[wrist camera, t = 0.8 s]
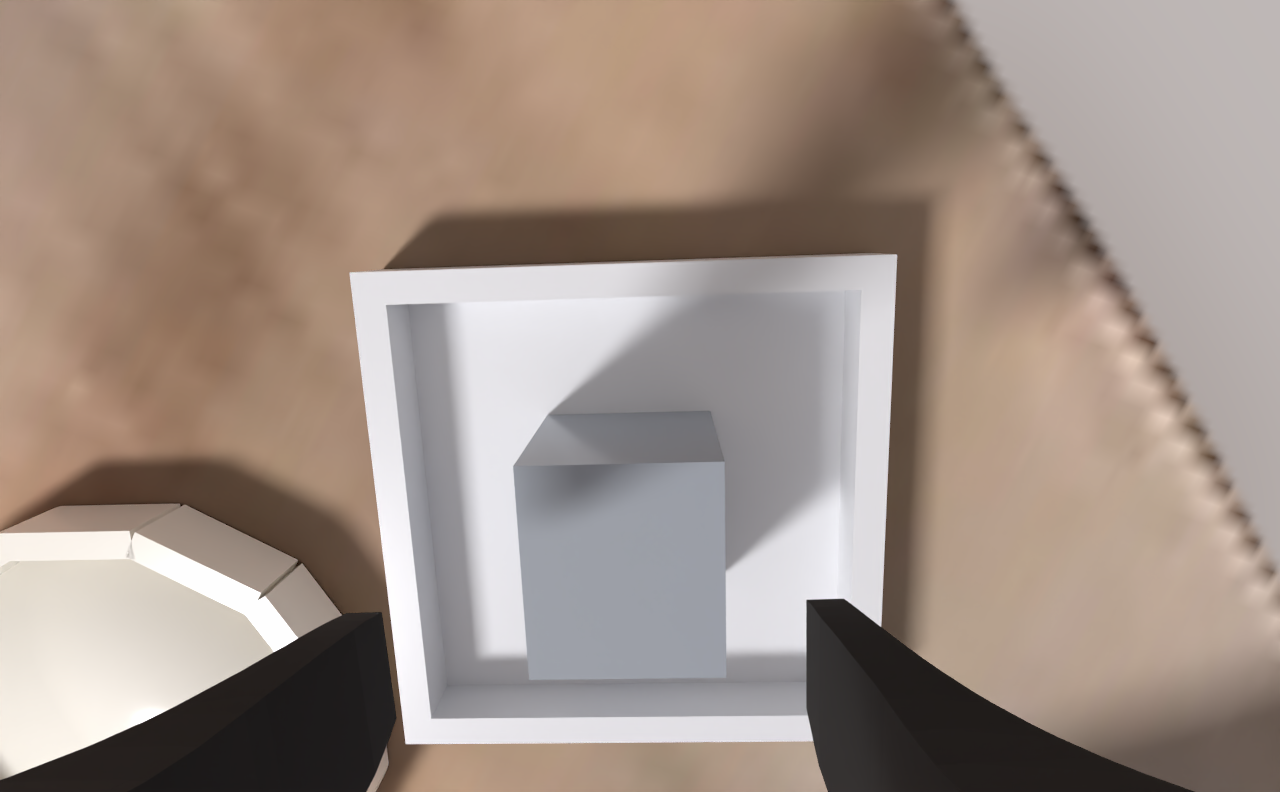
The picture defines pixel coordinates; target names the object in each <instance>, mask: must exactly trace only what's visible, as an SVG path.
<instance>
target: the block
mask: <svg viewBox="0 0 1280 792" xmlns="http://www.w3.org/2000/svg"><path fill="white" fill-rule="evenodd" d="M513 473H514V486H515V499H516V513H517V526H518V539H519V553H520V566H521V579H522V593H523V606H524V619H525V633H526V646H527V659H528V673H529V680H570V679H663V678H726V562H725V461H724V458H723V454H722V450H721V447H720V443H719V440H718V436H717V432H716V429H715V425H714V422H713V418H712V415H711V411H676V412H637V413H597V414H557V415H547V416H546V418H545V419H544V421H543V422H542V424H541V425H540V427H539V428H538V430H537V431H536V433H535V434H534V436H533V437H532V439H531V440H530V442H529V443H528V445H527V446H526V448H525V449H524V451H523V452H522V454H521V455H520V457H519V458H518V460H517V461H516V463H515V464H514V466H513Z"/></svg>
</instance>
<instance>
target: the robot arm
mask: <svg viewBox="0 0 1280 792" xmlns="http://www.w3.org/2000/svg"><path fill="white" fill-rule="evenodd" d="M806 709H807V714H808V718H809V723H810V728H811V732H812V737H813V741H814V746H815V750H816V754H817V759H818V763H819V767H820V770H821V773H822V775H823V778H824V781H825V784H826V787H827V790H828V792H1194V791H1191V790H1188V789H1185V788H1183V787H1180V786H1177V785H1174V784H1171V783H1169V782H1166V781H1163V780H1160V779H1157V778H1155V777H1152V776H1149V775H1146V774H1143V773H1141V772H1138V771H1136V770H1133V769H1131V768H1128V767H1126V766H1123V765H1121V764H1118V763H1116V762H1113V761H1111V760H1108V759H1106V758H1103V757H1101V756H1099V755H1097V754H1094V753H1092V752H1090V751H1088V750H1085V749H1083V748H1081V747H1079V746H1076V745H1074V744H1072V743H1070V742H1067V741H1065V740H1063V739H1061V738H1058V737H1056V736H1054V735H1052V734H1050V733H1048V732H1046V731H1044V730H1042V729H1040V728H1038V727H1036V726H1034V725H1032V724H1030V723H1028V722H1026V721H1024V720H1023V719H1021V718H1019V717H1017V716H1015V715H1013V714H1011V713H1010V712H1008V711H1006V710H1004V709H1002V708H1000V707H999V706H997V705H995V704H993V703H991V702H990V701H988V700H986V699H984V698H983V697H981V696H979V695H978V694H976V693H974V692H973V691H971V690H970V689H968V688H966V687H965V686H963V685H962V684H960V683H959V682H957V681H956V680H954V679H953V678H951V677H949V676H948V675H946V674H945V673H943V672H942V671H940V670H939V669H937V668H936V667H934V666H933V665H932V664H930V663H929V662H927V661H926V660H924V659H923V658H922V657H920V656H919V655H917V654H916V653H915V652H913V651H912V650H911V649H909V648H908V647H907V646H905V645H904V644H902V643H901V642H900V641H898V640H897V639H896V638H895V637H893V636H892V635H891V634H889V633H888V632H887V631H885V630H884V629H883V628H882V627H880V626H879V625H878V624H876V623H875V622H874V621H873V620H871V619H870V618H869V617H867V616H866V615H865V614H864V613H862V612H861V611H860V610H859V609H857V608H856V607H855V606H853V605H852V604H851V603H849V602H848V601H846V600H845V599H813V600H806ZM395 721H396V712H395V704H394V697H393V690H392V683H391V676H390V669H389V661H388V654H387V647H386V640H385V633H384V626H383V619H382V612H374V613H346V614H344V615H342V616H339V617H337V618H335V619H333V620H331V621H329V622H327V623H325V624H323V625H321V626H319V627H317V628H316V629H314V630H312V631H310V632H308V633H307V634H305V635H303V636H301V637H299V638H298V639H296V640H294V641H292V642H291V643H289V644H287V645H285V646H284V647H282V648H280V649H279V650H277V651H275V652H273V653H272V654H270V655H268V656H266V657H265V658H263V659H261V660H259V661H258V662H256V663H254V664H252V665H251V666H249V667H247V668H245V669H244V670H242V671H240V672H238V673H237V674H235V675H233V676H231V677H229V678H227V679H225V680H223V681H222V682H220V683H218V684H216V685H214V686H212V687H210V688H209V689H207V690H205V691H203V692H201V693H199V694H197V695H195V696H194V697H192V698H190V699H188V700H186V701H184V702H182V703H180V704H179V705H177V706H175V707H173V708H171V709H169V710H167V711H165V712H163V713H161V714H159V715H156V716H154V717H152V718H150V719H148V720H146V721H144V722H142V723H140V724H137V725H135V726H133V727H131V728H129V729H126V730H124V731H122V732H120V733H117V734H115V735H113V736H111V737H108V738H106V739H104V740H102V741H99V742H97V743H95V744H92V745H90V746H88V747H85V748H83V749H80V750H78V751H75V752H72V753H70V754H67V755H65V756H62V757H59V758H57V759H54V760H52V761H49V762H46V763H44V764H41V765H39V766H36V767H33V768H31V769H28V770H26V771H23V772H20V773H18V774H15V775H13V776H10V777H8V778H5V779H2V780H0V792H367V790H368V788H369V786H370V784H371V782H372V780H373V778H374V776H375V774H376V772H377V769H378V767H379V764H380V762H381V759H382V756H383V754H384V751H385V749H386V746H387V743H388V740H389V738H390V735H391V732H392V729H393V726H394V724H395Z"/></svg>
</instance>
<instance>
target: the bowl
mask: <svg viewBox="0 0 1280 792" xmlns="http://www.w3.org/2000/svg"><path fill="white" fill-rule="evenodd" d="M297 562H298V560H297V559H295V558H293V557H291V556H289V555H287V554H285V553H283V552H281V551H279V550H277V549H275V548H273V547H271V546H269V545H266V544H264V543H262V542H260V541H258V540H256V539H254V538H252V537H250V536H248V535H246V534H244V533H242V532H240V531H238V530H236V529H234V528H232V527H230V526H228V525H226V524H224V523H222V522H219V521H217V520H215V519H213V518H211V517H209V516H207V515H205V514H203V513H201V512H199V511H197V510H195V509H193V508H191V507H189V506H187V505H183V506H180V503H178V504H129V505H81V506H59V507H57V508H56V507H55V508H53V509H51V510H48V511H46V512H44V513H42V514H39V515H37V516H35V517H32V518H30V519H28V520H26V521H23V522H21V523H19V524H17V525H14V526H12V527H10V528H7V529H5V530H3V531H1V532H0V780H2V779H5V778H8V777H10V776H13V775H15V774H18V773H20V772H23V771H26V770H28V769H31V768H33V767H36V766H39V765H41V764H44V763H46V762H49V761H52V760H54V759H57V758H59V757H62V756H65V755H67V754H70V753H72V752H75V751H78V750H80V749H83V748H85V747H88V746H90V745H92V744H95V743H97V742H99V741H102V740H104V739H106V738H108V737H111V736H113V735H115V734H117V733H120V732H122V731H124V730H126V729H129V728H131V727H133V726H135V725H137V724H140V723H142V722H144V721H146V720H148V719H150V718H152V717H154V716H156V715H159V714H161V713H163V712H165V711H167V710H169V709H171V708H173V707H175V706H177V705H179V704H180V703H182V702H184V701H186V700H188V699H190V698H192V697H194V696H195V695H197V694H199V693H201V692H203V691H205V690H207V689H209V688H210V687H212V686H214V685H216V684H218V683H220V682H222V681H223V680H225V679H227V678H229V677H231V676H233V675H235V674H237V673H238V672H240V671H242V670H244V669H245V668H247V667H249V666H251V665H252V664H254V663H256V662H258V661H259V660H261V659H263V658H265V657H266V656H268V655H270V654H272V653H273V652H275V651H277V650H279V649H280V648H282V647H284V646H285V645H287V644H289V643H291V642H292V641H294V640H296V639H298V638H299V637H301V636H303V635H305V634H307V633H308V632H310V631H312V630H314V629H316V628H317V627H319V626H321V625H323V624H325V623H327V622H329V621H331V620H333V619H335V618H337V617H339V616H342V615H341V613H340V612H339V611H338V609H337V608H336V607H335V605H334V604H333V603H332V602H331V600H330V599H329V598H328V596H327V595H326V594H325V592H324V591H323V590H322V588H321V587H320V586H319V585H318V583H317V582H316V581H315V579H314V578H313V577H312V575H311V574H310V573H309V571H308V570H307V569H306V568H305V566H304V565H303V564H300V565H299V566H297V567H295V566H296V564H297ZM388 765H389V761H388V753H387V746H386V749H385V751H384V754H383V756H382V759H381V762H380V764H379V767H378V769H377V772H376V774H375V776H374V778H373V780H372V782H371V784H370V786H369V788H368V790H367V792H376V790H377V788H378V787H379V785H380V783H381V781H382V779H383V777H384V775H385V773H386V771H387V769H388V768H387V767H388Z"/></svg>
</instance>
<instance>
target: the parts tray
mask: <svg viewBox="0 0 1280 792" xmlns="http://www.w3.org/2000/svg"><path fill="white" fill-rule="evenodd" d="M896 271H897V254H882V253H858V254H828V255H798V256H768V257H738V258H708V259H678V260H648V261H618V262H588V263H558V264H528V265H498V266H468V267H438V268H408V269H381V270H370V271H360V272H350V281H351V289H352V298H353V306H354V314H355V323H356V331H357V340H358V348H359V356H360V365H361V373H362V382H363V390H364V398H365V407H366V415H367V424H368V432H369V440H370V449H371V457H372V466H373V474H374V482H375V491H376V499H377V508H378V516H379V524H380V533H381V541H382V550H383V558H384V566H385V575H386V583H387V591H388V600H389V608H390V617H391V625H392V633H393V642H394V650H395V659H396V667H397V675H398V684H399V692H400V701H401V709H402V717H403V726H404V734H405V743H406V744H499V743H636V742H774V741H813V737H812V732H811V728H810V723H809V718H808V714H807V709H806V600H813V599H845V600H846V601H848V602H849V603H851V604H852V605H853V606H855V607H856V608H857V609H859V610H860V611H861V612H862V613H864V614H865V615H866V616H867V617H869V618H870V619H871V620H873V621H874V622H875V623H876V624H878V625H879V626H880V627H881V621H882V598H883V575H884V551H885V528H886V505H887V481H888V458H889V435H890V411H891V388H892V365H893V341H894V318H895V294H896ZM676 411H711V415H712V418H713V422H714V425H715V429H716V432H717V436H718V440H719V443H720V447H721V450H722V454H723V458H724V461H725V562H726V678H663V679H570V680H529V673H528V659H527V646H526V633H525V619H524V606H523V593H522V579H521V566H520V553H519V539H518V526H517V513H516V499H515V486H514V473H513V466H514V464H515V463H516V461H517V460H518V458H519V457H520V455H521V454H522V452H523V451H524V449H525V448H526V446H527V445H528V443H529V442H530V440H531V439H532V437H533V436H534V434H535V433H536V431H537V430H538V428H539V427H540V425H541V424H542V422H543V421H544V419H545V418H546V416H547V415H557V414H597V413H637V412H676Z"/></svg>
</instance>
